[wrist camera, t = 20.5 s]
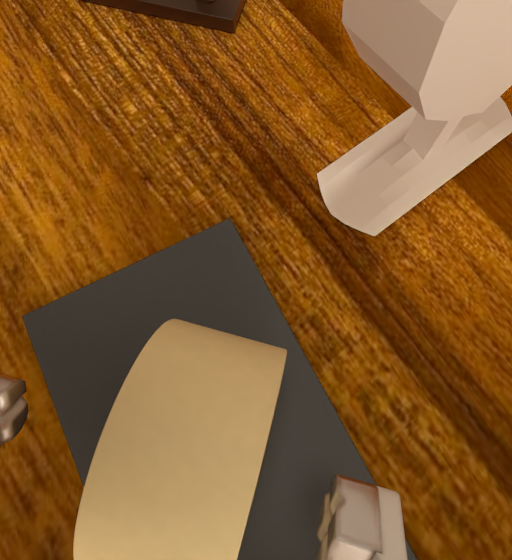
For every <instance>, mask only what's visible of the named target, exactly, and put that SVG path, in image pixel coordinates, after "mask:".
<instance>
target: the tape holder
mask: <svg viewBox="0 0 512 560" xmlns="http://www.w3.org/2000/svg"><path fill="white" fill-rule="evenodd" d="M83 1H88V2H92V3H97V4H102V5H106V6H111V7H116V8H120V9H125V10H129V11H134V12H139V13H143V14H148V15H153V16H157V17H162V18H167V19H171V20H176V21H181V22H185V23H190V24H195V25H199V26H204V27H208V28H213V29H218V30H222V31H227V32H232V33H234V31H235V28H236V25H237V23H238V20H239V17H240V15H241V12H242V9H243V7H244V4H245V1H246V0H83Z"/></svg>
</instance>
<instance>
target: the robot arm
mask: <svg viewBox="0 0 512 560" xmlns="http://www.w3.org/2000/svg"><path fill="white" fill-rule="evenodd" d="M25 392H26V384H25V381H23V380H21V379H18V378H15V377H12V376H9V375H6V374H3V373H0V446H1V444H3V443H6V442H8V441H10V440H13V439H14V437H15V436H16V435H17V434H18V433H19V432H20V430H21V429H22V427H23V425H24V423H25V421H26V419H27V414H28V403H27V402H26V401H25V399H24V398H23V397H22V395H23V394H24V393H25ZM317 536H318V538H319V540H320V542H321V543H320V545H319V547H318V549H317V552H316V554H315V560H408V559H407V551H406V543H405V534H404V526H403V518H402V509H401V501H400V496H399V494H398V492H396V491H392V490H389V489H386V488H382V487H379V486H375V485H374V484H370V483H367V482H363V481H360V480H356V479H353V478H349V477H346V476H342V475H339V474H335V475H334V476H333V478H332V480H331V483H330V493H328V494H326V495H325V497H324V499H323V502H322V505H321V509H320V513H319V519H318V527H317Z"/></svg>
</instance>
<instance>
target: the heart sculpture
mask: <svg viewBox="0 0 512 560" xmlns="http://www.w3.org/2000/svg"><path fill="white" fill-rule="evenodd" d="M342 23H343V25H344V27H345V29H346V31H347V33H348V35H349V37H350V39H351V41H352V42H353V44H354V46H355V48H356V50H357V52H358V54H359V56H360V58H361V59H362V60H363V61H364V62H365V63H366V64H367V65H369V66H370V67H371V68H372V69H373V70H374V71H375V72H376V73H377V74H378V75H379V76H380V77H381V78H382V79H383V80H384V81H385V82H387V83H388V84H389V85H390V86H391V87H392V88H393V89H394V90H395V91H396V92H397V93H398V94H399V95H400V96H401V97H402V98H403V99H405V100H406V101H407V102H408V103H409V104H410V105H411V106H412V107H411V108H410V109H408V110H407V111H406V112H404V113H403V114H401V115H400V116H398V117H397V118H396V119H394V120H393V121H391V122H390V123H388V124H387V125H386V126H384V127H383V128H381V129H380V130H378V131H377V132H376V133H374V134H373V135H371V136H370V137H369V138H367V139H366V140H364V141H363V142H361V143H360V144H359V145H357V146H356V147H354V148H353V149H351V150H350V151H349V152H347V153H346V154H344V155H343V156H341V157H340V158H339V159H337V160H336V161H334V162H333V163H332V164H330V165H329V166H327V167H326V168H324V169H323V170H322V171H320V172H319V173H317V177H318V182H319V187H320V191H321V194H322V197H323V200H324V203H325V204H326V206H327V208H328V210H329V212H330V213H331V215H332V216H334V217H335V218H337V219H338V220H340V221H341V222H342V223H344V224H346V225H348V226H350V227H352V228H354V229H356V230H359V231H361V232H364V233H367V234H369V235H372V236H376V235H377V234H379V233H380V232H381V231H383V230H384V229H385V228H386V227H388V226H389V225H390V224H392V223H393V222H394V221H396V220H397V219H398V218H400V217H401V216H402V215H404V214H405V213H406V212H408V211H409V210H410V209H411V208H413V207H414V206H415V205H417V204H418V203H419V202H421V201H422V200H423V199H425V198H426V197H427V196H429V195H430V194H431V193H433V192H434V191H435V190H436V189H438V188H439V187H440V186H442V185H443V184H444V183H446V182H447V181H448V180H450V179H451V178H452V177H454V176H455V175H456V174H458V173H459V172H460V171H461V170H463V169H464V168H465V167H467V166H468V165H469V164H471V163H472V162H473V161H475V160H476V159H477V158H479V157H480V156H481V155H482V154H484V153H485V152H486V151H488V150H489V149H490V148H492V147H493V146H494V145H496V144H497V143H498V142H500V141H501V140H502V139H504V138H505V137H506V136H507V135H509V134H510V133H511V132H512V116H511V114H510V112H509V110H508V108H507V106H506V104H505V102H504V101H503V100H502V98H501V97H500V96H501V95H502V94H503V93H504V92H505V91H506V90H507V89H508V88H509V87H510V86H512V0H343V11H342Z"/></svg>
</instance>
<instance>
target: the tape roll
mask: <svg viewBox="0 0 512 560" xmlns="http://www.w3.org/2000/svg"><path fill="white" fill-rule="evenodd" d="M286 356H287V350H286V349H283V348H279V347H276V346H272V345H269V344H265V343H261V342H258V341H254V340H251V339H247V338H243V337H240V336H236V335H233V334H229V333H225V332H222V331H218V330H215V329H211V328H207V327H204V326H200V325H197V324H193V323H189V322H186V321H182V320H179V319H171V320H168V321H167V322H165V323H164V324H162V325H161V326H160V327H159V328H158V329H157V330H156V332H155V333H154V334H153V335H152V337H151V338H150V339H149V341H148V342H147V343H146V345H145V346H144V348H143V349H142V351H141V352H140V354H139V356H138V357H137V359H136V361H135V362H134V364H133V366H132V368H131V370H130V372H129V373H128V375H127V377H126V379H125V381H124V383H123V385H122V387H121V389H120V391H119V394H118V396H117V398H116V400H115V402H114V404H113V407H112V409H111V411H110V414H109V416H108V418H107V421H106V423H105V426H104V429H103V431H102V434H101V436H100V439H99V442H98V444H97V447H96V450H95V453H94V456H93V459H92V462H91V465H90V468H89V472H88V475H87V478H86V482H85V485H84V489H83V493H82V497H81V501H80V505H79V510H78V515H77V520H76V526H75V534H74V543H73V558H74V560H237V557H238V554H239V550H240V547H241V544H242V541H243V537H244V534H245V530H246V527H247V523H248V519H249V516H250V512H251V508H252V505H253V501H254V497H255V493H256V489H257V485H258V481H259V477H260V474H261V470H262V465H263V461H264V457H265V453H266V449H267V445H268V441H269V436H270V432H271V428H272V423H273V419H274V414H275V409H276V404H277V398H278V394H279V390H280V385H281V381H282V376H283V371H284V367H285V362H286Z"/></svg>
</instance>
